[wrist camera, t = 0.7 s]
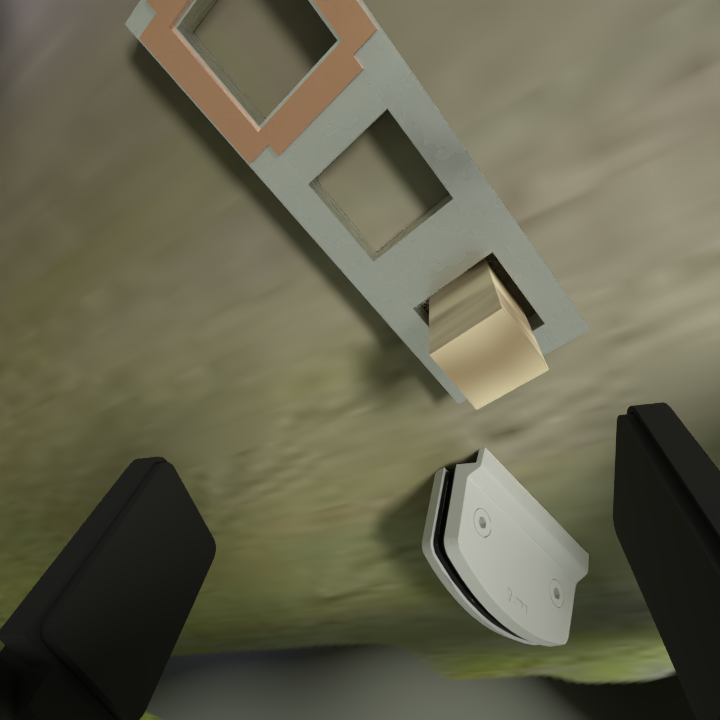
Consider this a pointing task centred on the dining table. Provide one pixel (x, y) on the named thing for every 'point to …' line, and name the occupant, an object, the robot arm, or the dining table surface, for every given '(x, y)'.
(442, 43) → the dining table surface
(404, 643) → the dining table surface
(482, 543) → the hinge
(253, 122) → the rail
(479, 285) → the peg
